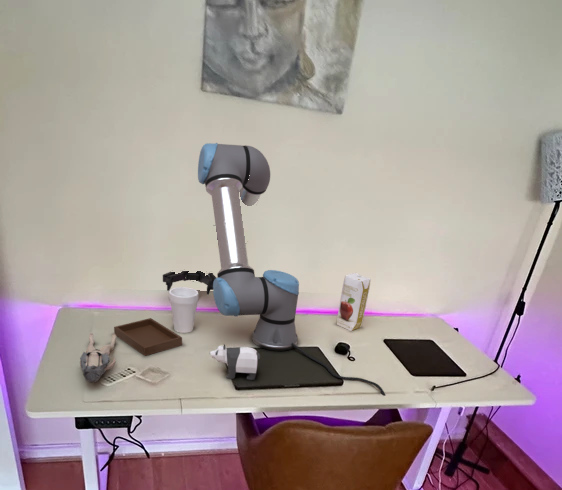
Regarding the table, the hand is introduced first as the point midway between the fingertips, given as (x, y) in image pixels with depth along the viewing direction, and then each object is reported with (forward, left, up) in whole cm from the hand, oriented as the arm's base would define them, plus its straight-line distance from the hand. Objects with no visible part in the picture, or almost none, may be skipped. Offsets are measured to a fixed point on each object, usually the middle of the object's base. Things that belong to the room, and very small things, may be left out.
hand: (188, 289), depth 178 cm
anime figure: (-14, +42, -11) cm, 46 cm away
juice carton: (-37, -46, -11) cm, 60 cm away
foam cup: (-7, +7, -11) cm, 15 cm away
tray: (-8, +21, -11) cm, 25 cm away
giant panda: (-41, +13, -11) cm, 44 cm away
